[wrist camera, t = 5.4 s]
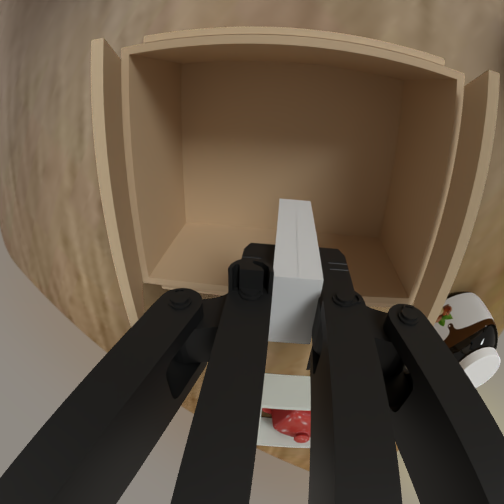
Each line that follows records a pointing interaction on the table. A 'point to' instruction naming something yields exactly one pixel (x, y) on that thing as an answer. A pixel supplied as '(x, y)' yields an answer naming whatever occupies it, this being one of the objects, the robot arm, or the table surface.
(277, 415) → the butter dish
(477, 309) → the spread jar
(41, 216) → the table surface
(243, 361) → the robot arm
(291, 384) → the dish caddy
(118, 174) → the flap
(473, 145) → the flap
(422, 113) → the carton
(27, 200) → the table surface
